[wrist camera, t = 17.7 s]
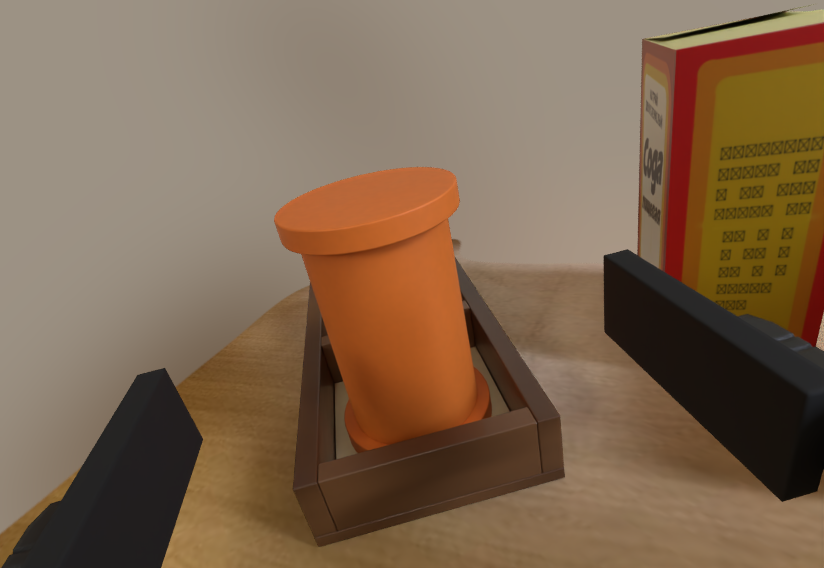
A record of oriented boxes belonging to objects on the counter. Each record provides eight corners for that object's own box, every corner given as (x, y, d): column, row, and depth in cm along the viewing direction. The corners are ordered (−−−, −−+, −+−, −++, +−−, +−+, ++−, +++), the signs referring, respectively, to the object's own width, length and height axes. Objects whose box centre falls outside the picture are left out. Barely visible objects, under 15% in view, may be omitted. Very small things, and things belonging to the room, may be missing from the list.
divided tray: (318, 547, 20) (291, 489, 18) (323, 312, 39) (310, 274, 37) (565, 477, 20) (561, 415, 19) (451, 280, 39) (444, 240, 38)
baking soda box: (809, 374, 23) (896, -2, 16) (659, 371, 25) (676, 39, 18) (746, 281, 31) (785, 3, 24) (636, 285, 33) (642, 31, 26)
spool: (352, 491, 21) (262, 248, 16) (346, 387, 28) (282, 193, 22) (514, 446, 21) (479, 195, 16) (469, 355, 28) (434, 156, 23)
